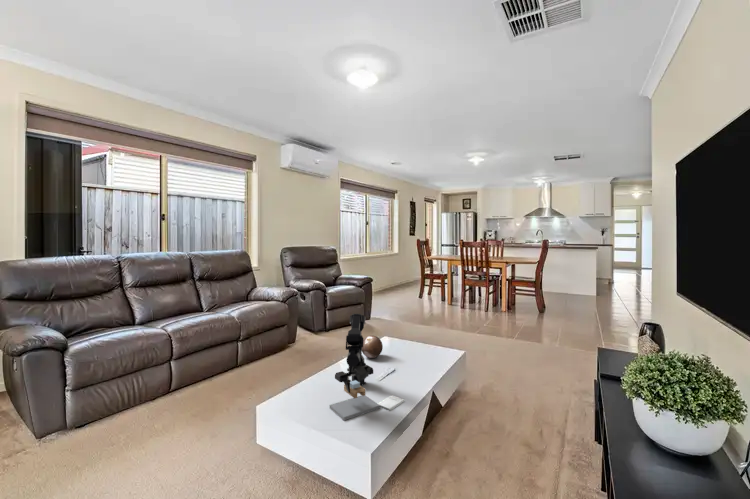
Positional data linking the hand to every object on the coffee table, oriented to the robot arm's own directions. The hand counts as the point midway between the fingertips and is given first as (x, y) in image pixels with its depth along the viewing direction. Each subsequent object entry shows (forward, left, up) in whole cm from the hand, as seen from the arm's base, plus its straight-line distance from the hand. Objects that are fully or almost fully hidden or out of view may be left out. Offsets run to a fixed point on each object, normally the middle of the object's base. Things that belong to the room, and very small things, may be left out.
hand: (354, 390), depth 167 cm
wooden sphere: (-47, -55, -9) cm, 73 cm away
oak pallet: (0, 0, -1) cm, 1 cm away
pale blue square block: (0, 0, +2) cm, 2 cm away
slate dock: (0, 0, -9) cm, 9 cm away
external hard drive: (-17, +6, -9) cm, 21 cm away
